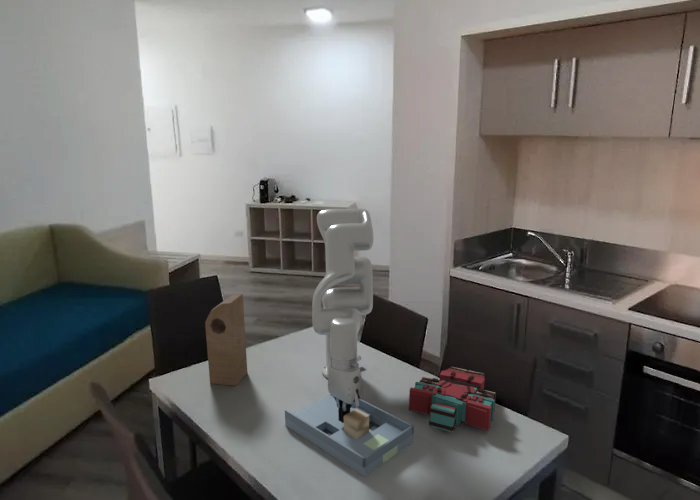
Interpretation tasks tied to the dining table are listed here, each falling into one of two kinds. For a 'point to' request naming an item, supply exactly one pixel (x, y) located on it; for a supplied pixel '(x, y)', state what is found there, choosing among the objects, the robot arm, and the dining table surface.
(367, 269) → the robot arm
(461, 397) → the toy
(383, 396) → the dining table surface
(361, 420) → the oak block
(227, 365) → the decorative block
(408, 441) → the trap board
